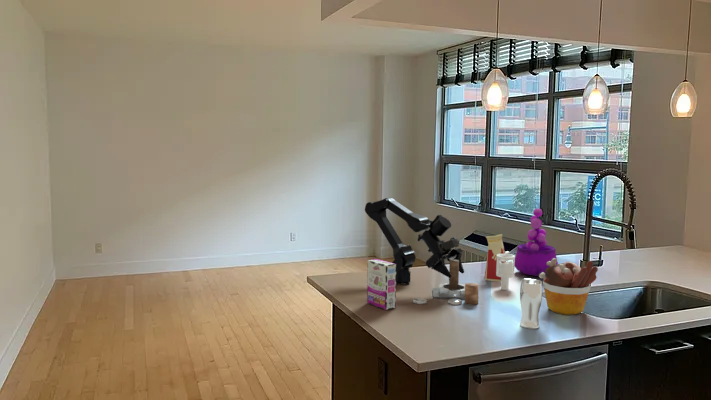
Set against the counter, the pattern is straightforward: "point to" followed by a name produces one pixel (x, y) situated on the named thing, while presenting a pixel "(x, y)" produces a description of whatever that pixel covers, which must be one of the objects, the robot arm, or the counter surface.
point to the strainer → (505, 269)
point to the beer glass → (530, 302)
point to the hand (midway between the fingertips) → (457, 275)
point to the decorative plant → (534, 249)
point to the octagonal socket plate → (449, 292)
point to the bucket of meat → (567, 286)
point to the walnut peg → (454, 274)
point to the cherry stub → (471, 293)
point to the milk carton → (493, 257)
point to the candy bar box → (381, 284)
